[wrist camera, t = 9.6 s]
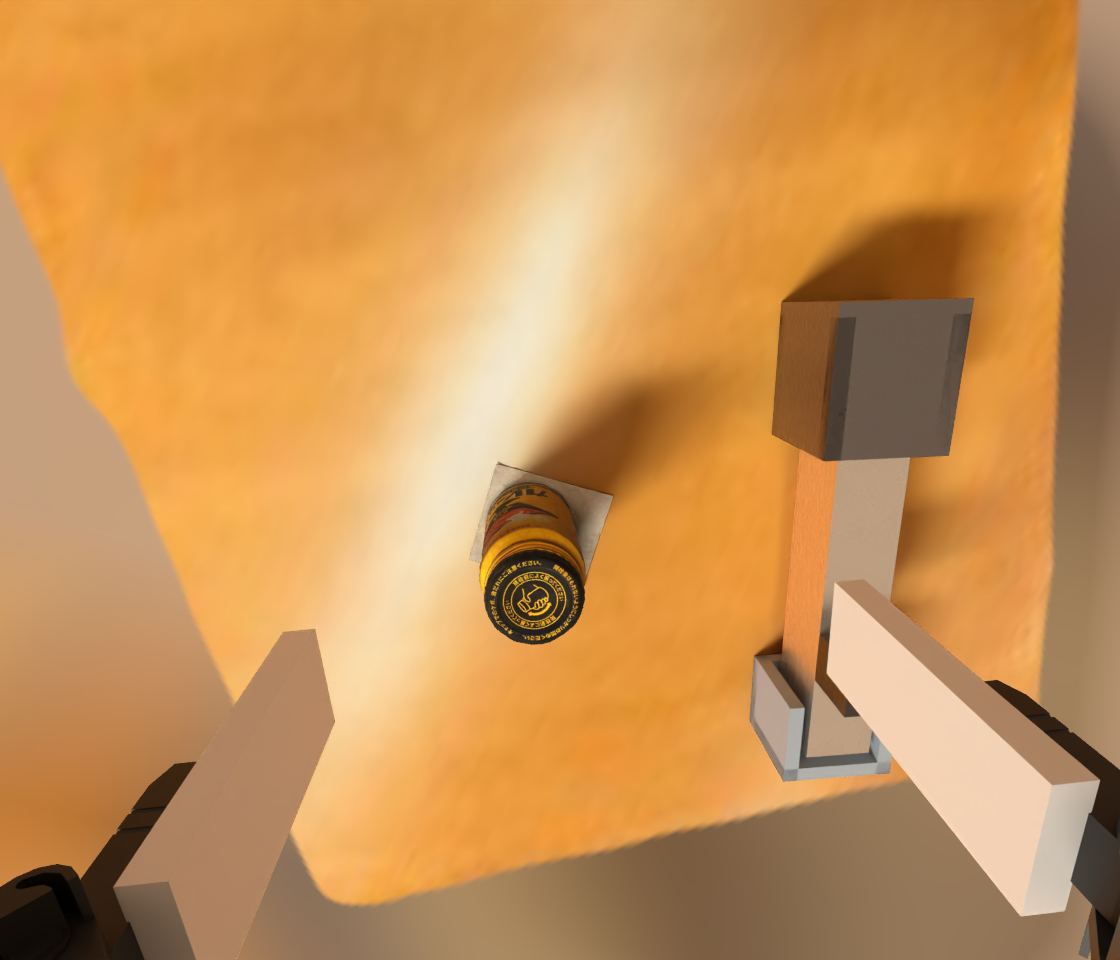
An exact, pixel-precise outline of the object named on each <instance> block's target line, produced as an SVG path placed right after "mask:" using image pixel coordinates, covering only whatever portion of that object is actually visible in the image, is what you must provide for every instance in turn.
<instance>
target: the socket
mask: <svg viewBox="0 0 1120 960" xmlns="http://www.w3.org/2000/svg"><path fill="white" fill-rule="evenodd" d="M781 658H782V654H773V655H758V656H754V668H753V682H752V696H751V710H750V723H751V724H752V726H753V728H754V730H755V732H756V733H757V735H758V737H759V739H760V740H761V742H762V744H763V746H764V748H765V749H766V751H767V753H768V755H769V757H770V758H771V760H772V762H773V764H774V766H775V767H776V769H777V771H778V773H779V774H780V776H781V778H782V780H783V782H785V781H797V780H810V779H822V778H835V777H848V776H860V775H873V774H886V773H889V771H890V765H891V759H892V755H891V753H890V752H889V751H888V750H887V748H886V747H885V746H884V745H883V743H882V742H881V741H880V740H879V738H878V737H877V736H876V734H875V733H874V732H873V731H872V733H871V740H870V747H869V753H858V754H845V755H832V756H819V757H806V756H805V754H804V753H803V751H802V750H801V740H802V730H803V720H804V711H805V707H804V706H803V705H802V703H801V702H800V700H799V699H798V698H797V696H796V695H795V693H794V692H793V691H792V689H791V688H790V686H789V685H788V684H787V682H786V681H785V679H784V678H783V677H782V675H781V674H780V670H781Z"/></svg>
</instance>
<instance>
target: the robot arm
mask: <svg viewBox="0 0 1120 960" xmlns="http://www.w3.org/2000/svg"><path fill="white" fill-rule="evenodd" d="M827 674H828V676H829V677H830V678H831V679H832V681H833V682H834V683H835V684H836V686H837V687H838V688H839V689H840V691H841V692H842V693H843V694H844V696H845V697H846V698H847V699H848V701H849V702H850V703H851V704H852V706H853V707H854V708H855V709H856V711H857V712H858V713H859V714H860V716H861V717H862V718H863V719H864V721H865V722H866V723H867V724H868V726H869V727H870V728H871V729H872V731H873V732H874V733H875V734H876V736H877V737H878V738H879V740H880V741H881V742H882V743H883V745H884V746H885V747H886V748H887V750H888V751H889V752H890V753H891V755H892V756H893V757H894V758H895V760H896V761H897V762H898V763H899V765H900V766H901V767H902V768H903V770H904V771H905V772H906V773H907V775H908V776H909V777H910V778H911V780H912V781H913V782H914V783H915V785H916V786H917V787H918V788H919V789H920V791H921V792H922V793H923V795H924V796H925V797H926V798H927V800H928V801H929V802H930V803H931V805H932V806H933V807H934V808H935V810H936V811H937V812H938V813H939V815H940V816H941V817H942V818H943V820H944V821H945V822H946V823H947V825H948V826H949V827H950V828H951V830H952V831H953V832H954V833H955V834H956V835H957V837H958V838H959V840H960V841H961V842H962V843H963V845H964V846H965V847H966V848H967V850H968V851H969V852H970V853H971V855H972V856H973V857H974V858H975V860H976V861H977V862H978V863H979V865H980V866H981V867H982V869H983V870H984V871H985V872H986V874H987V875H988V876H989V877H990V879H991V880H992V881H993V882H994V884H995V885H996V886H997V887H998V888H999V890H1000V891H1001V892H1002V894H1003V895H1004V896H1005V897H1006V898H1007V900H1008V901H1009V902H1010V903H1011V905H1012V906H1013V907H1014V908H1015V910H1016V911H1017V912H1018V914H1019V915H1020V916H1028V915H1036V914H1044V913H1053V912H1061V911H1065V908H1066V905H1067V901H1068V897H1069V894H1070V890H1071V886H1072V883H1073V884H1074V885H1075V886H1076V888H1077V889H1078V890H1079V891H1080V892H1081V893H1082V894H1083V895H1084V896H1085V897H1086V898H1087V899H1088V901H1090V903H1091V904H1092V909H1091V912H1090V916H1089V919H1088V923H1087V926H1086V930H1085V933H1084V937H1083V940H1082V943H1081V947H1080V951H1079V955H1081V956H1083V957H1085V958H1088V955H1089V952H1090V950H1091V960H1120V770H1119V769H1118V768H1117V767H1116V766H1114V765H1113V764H1112V763H1111V762H1109V761H1108V760H1107V759H1106V758H1104V757H1103V756H1102V755H1100V754H1099V753H1098V752H1097V751H1096V750H1094V749H1093V748H1092V747H1091V746H1089V745H1088V744H1087V743H1086V742H1085V741H1083V740H1082V739H1081V738H1080V737H1078V736H1077V735H1076V734H1074V733H1070V732H1069V730H1068V728H1067V727H1066V726H1065V725H1063V724H1062V723H1061V722H1060V721H1058V720H1057V719H1056V718H1055V717H1050V715H1049V713H1048V712H1047V711H1046V710H1045V709H1043V708H1042V707H1041V706H1040V705H1039V704H1037V703H1036V702H1035V701H1034V700H1032V699H1031V698H1030V697H1029V696H1027V695H1026V694H1024V693H1022V692H1020V691H1018V690H1016V689H1014V688H1012V687H1010V686H1008V685H1006V684H1004V683H1002V682H1000V681H998V680H993V681H983V680H982V679H981V678H979V677H978V676H977V675H976V674H975V673H974V672H972V671H971V670H970V669H969V668H968V667H966V666H965V665H964V664H963V663H962V662H961V661H959V660H958V659H957V658H956V657H955V656H953V655H952V654H951V653H950V652H949V651H948V650H946V649H945V648H944V647H943V646H942V645H941V644H939V643H938V642H937V641H936V640H935V639H933V638H932V637H931V636H930V635H929V634H928V633H926V632H925V631H924V630H923V629H922V628H921V627H919V626H918V625H917V624H916V623H915V622H913V621H912V620H911V619H910V618H909V617H908V616H906V615H905V614H904V613H903V612H902V611H900V610H899V609H898V608H897V607H896V606H895V605H893V604H892V603H891V602H890V601H889V600H888V599H886V598H885V597H884V596H883V595H882V594H880V593H879V592H878V591H877V590H876V589H875V588H873V587H872V586H871V585H870V584H869V583H867V582H866V581H865V580H864V579H862V580H851V581H840V582H835V584H834V595H833V607H832V618H831V629H830V641H829V652H828V664H827ZM334 723H335V719H334V715H333V710H332V705H331V701H330V696H329V692H328V687H327V682H326V678H325V673H324V668H323V664H322V659H321V654H320V650H319V645H318V640H317V636H316V631H315V629H311V630H300V631H289V632H283V633H282V635H281V636H280V638H279V639H278V641H277V642H276V644H275V645H274V647H273V648H272V650H271V651H270V653H269V654H268V656H267V657H266V659H265V660H264V662H263V663H262V665H261V666H260V668H259V669H258V671H257V672H256V674H255V675H254V677H253V678H252V680H251V681H250V683H249V684H248V686H247V687H246V689H245V690H244V692H243V693H242V695H241V696H240V698H239V699H238V701H237V702H236V704H235V705H234V707H233V708H232V710H231V711H230V713H229V714H228V716H227V717H226V719H225V720H224V722H223V723H222V725H221V726H220V728H219V729H218V731H217V733H216V734H215V735H214V737H213V738H212V740H211V741H210V743H209V745H208V746H207V747H206V749H205V750H204V752H203V753H202V755H201V756H200V758H199V759H198V761H197V762H188V763H179V764H174V765H173V766H172V767H171V768H169V769H168V770H167V771H166V772H165V773H163V774H162V775H161V776H160V777H159V778H158V779H156V780H155V781H154V782H153V783H152V784H150V785H149V786H148V788H147V790H146V791H145V792H144V793H143V795H142V796H141V797H140V799H139V800H138V801H137V803H136V804H135V806H134V807H133V808H132V812H131V814H128V815H127V817H126V818H125V820H124V821H123V822H122V823H121V825H120V826H119V827H118V829H117V833H116V834H115V835H113V836H112V837H111V838H110V840H109V841H108V843H107V844H106V845H105V847H104V848H103V849H102V851H101V852H100V854H99V855H98V856H97V858H96V859H95V860H94V862H93V863H92V864H91V866H90V867H89V869H88V870H87V871H86V873H85V874H84V875H83V877H82V878H81V880H80V879H79V876H78V874H77V873H76V872H75V871H74V870H73V868H72V867H70V866H65V865H59V864H56V865H50V866H45V867H40V868H37V869H34V870H32V871H29V872H27V873H25V874H23V875H20V876H18V877H16V878H14V879H12V880H11V881H9V882H7V883H6V884H4V885H3V886H1V887H0V960H237V957H238V955H239V952H240V950H241V947H242V945H243V943H244V940H245V938H246V936H247V933H248V931H249V928H250V926H251V923H252V921H253V918H254V916H255V914H256V911H257V909H258V906H259V904H260V902H261V899H262V897H263V894H264V892H265V890H266V887H267V885H268V882H269V880H270V877H271V875H272V873H273V870H274V867H275V865H276V863H277V860H278V858H279V856H280V853H281V851H282V848H283V846H284V843H285V841H286V839H287V836H288V834H289V831H290V829H291V827H292V824H293V822H294V819H295V817H296V814H297V812H298V810H299V807H300V805H301V802H302V800H303V798H304V795H305V793H306V790H307V788H308V785H309V783H310V781H311V778H312V776H313V773H314V771H315V769H316V766H317V764H318V761H319V759H320V756H321V754H322V752H323V749H324V747H325V744H326V742H327V739H328V737H329V735H330V732H331V730H332V727H333V725H334Z"/></svg>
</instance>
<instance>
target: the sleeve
mask: <svg viewBox="0 0 1120 960" xmlns="http://www.w3.org/2000/svg"><path fill="white" fill-rule="evenodd" d="M973 301H974V298H930V299H867V300H833V301H800V302H782V303H781V316H780V330H779V344H778V357H777V371H776V385H775V398H774V412H773V426H772V435H774V436H776V437H778V438H780V439H782V440H784V441H785V442H787V443H789V444H791V445H793V446H795V447H797V448H799V449H801V450H803V451H805V452H807V453H809V454H811V455H812V456H814V457H816V458H818V459H820V460H822V461H845V460H867V459H888V458H910V457H931V456H949V451H950V445H951V439H952V433H953V426H954V420H955V414H956V408H957V401H958V395H959V389H960V383H961V376H962V370H963V364H964V358H965V351H966V345H967V339H968V332H969V326H970V320H971V314H972V307H973Z"/></svg>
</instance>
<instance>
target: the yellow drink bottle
mask: <svg viewBox="0 0 1120 960" xmlns="http://www.w3.org/2000/svg"><path fill="white" fill-rule="evenodd" d="M613 497H614V496H611V495H608V494H603V493H600V492H597V491H593V490H589V489H585V488H581V487H578V486H574V485H571V484H567V483H564V482H560V481H557V480H554V479H550V478H547V477H543V476H539V475H535V474H532V473H528V472H525V471H521V470H517V469H514V468H510V467H506V466H502V465H497V464H496V467H495V470H494V474H493V477H492V480H491V484H490V488H489V491H488V495H487V498H486V502H485V505H484V509H483V512H482V516H481V519H480V523H479V526H478V530H477V533H476V536H475V541H474V544H473V547H472V551H471V554H470V558H469V560H471V561H475V562H479V563H480V585H481V588H482V591H483V594H484V602H485V608H486V611H487V614H488V617H489V618H490V620H491V622H492V623H493V625H494V627H495V628H496V629H497V630H499V631H500V632H501V633H503V634H504V635H505V636H507V637H508V638H510V639H511V640H513V641H515V642H520V643H525V644H531V645H535V644H544V643H548V642H551V641H553V640H555V639H556V638H558V637H560V636H561V635H563V634H564V633H566V632H567V631H568V630H569V629H570V628H572V627H573V626H574V625H575V624H576V622H577V620H578V619H579V617H580V615H581V612H582V609H583V605H584V600H585V596H584V595H585V590H584V586H585V580H586V575H587V573H588V570H589V567H590V564H591V561H592V558H593V554H594V551H595V548H596V546H597V543H598V540H599V535H600V533H601V531H602V528H603V525H604V523H605V520H606V516H607V513H608V511H609V508H610V505H611V502H612V499H613ZM572 511H574V512H575V513H574V514H573V513H572ZM575 515H578V519H577V518H576V516H575Z"/></svg>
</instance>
